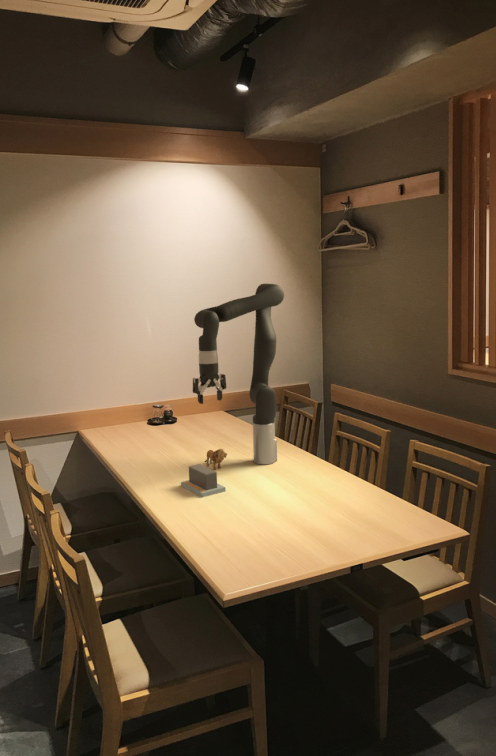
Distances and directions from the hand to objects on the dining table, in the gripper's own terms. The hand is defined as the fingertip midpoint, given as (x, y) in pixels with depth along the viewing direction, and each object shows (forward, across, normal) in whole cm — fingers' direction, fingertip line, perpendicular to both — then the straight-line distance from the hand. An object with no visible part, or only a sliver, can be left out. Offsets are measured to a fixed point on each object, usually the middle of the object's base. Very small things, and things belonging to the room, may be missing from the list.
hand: (210, 401), depth 256 cm
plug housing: (+28, +12, +12) cm, 33 cm away
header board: (+30, +12, +12) cm, 34 cm away
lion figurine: (+30, -6, -7) cm, 32 cm away
